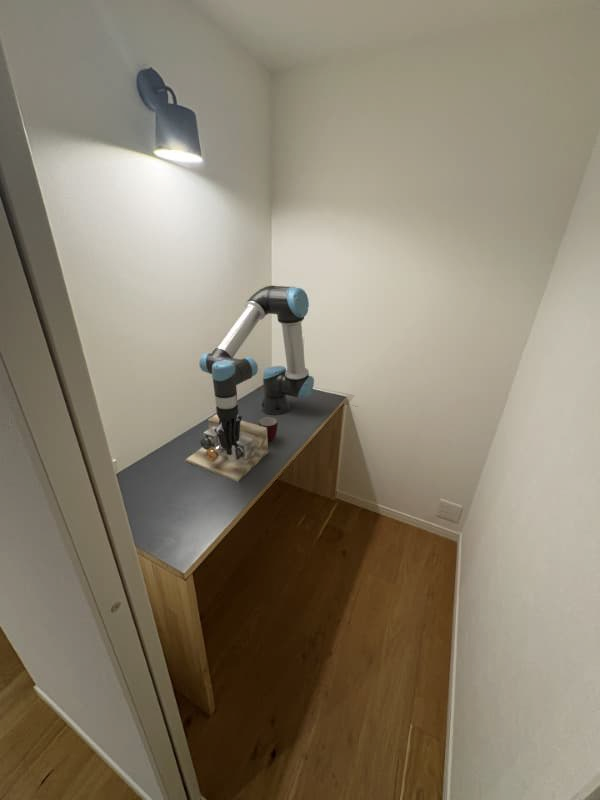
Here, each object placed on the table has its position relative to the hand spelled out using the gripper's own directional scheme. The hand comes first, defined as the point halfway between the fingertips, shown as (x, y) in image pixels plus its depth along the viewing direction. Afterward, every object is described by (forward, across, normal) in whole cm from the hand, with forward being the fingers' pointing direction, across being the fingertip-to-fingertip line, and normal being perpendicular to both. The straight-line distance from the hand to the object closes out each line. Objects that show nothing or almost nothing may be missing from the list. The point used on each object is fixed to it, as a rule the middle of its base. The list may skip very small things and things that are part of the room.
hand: (232, 459), depth 120 cm
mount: (+5, -6, -8) cm, 11 cm away
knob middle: (+1, -1, -7) cm, 8 cm away
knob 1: (+1, -6, -15) cm, 16 cm away
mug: (+5, -23, +1) cm, 24 cm away
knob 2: (+1, -6, 0) cm, 6 cm away
